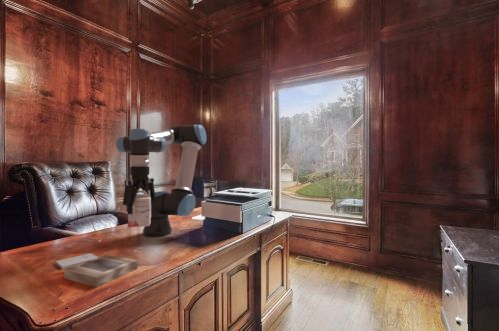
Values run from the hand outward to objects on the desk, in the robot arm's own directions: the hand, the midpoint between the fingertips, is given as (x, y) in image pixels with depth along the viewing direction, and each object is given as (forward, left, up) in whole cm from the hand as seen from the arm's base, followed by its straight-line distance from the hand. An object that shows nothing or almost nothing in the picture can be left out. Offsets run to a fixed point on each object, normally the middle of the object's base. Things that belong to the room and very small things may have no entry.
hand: (140, 219), depth 112 cm
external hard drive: (+16, -17, -16) cm, 28 cm away
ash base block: (+19, +2, -15) cm, 25 cm away
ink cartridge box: (0, 0, -3) cm, 3 cm away
